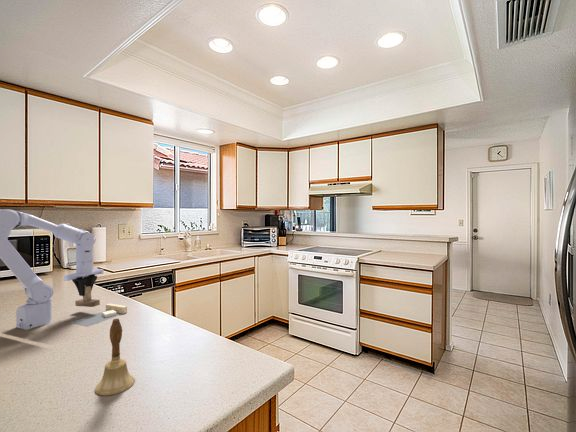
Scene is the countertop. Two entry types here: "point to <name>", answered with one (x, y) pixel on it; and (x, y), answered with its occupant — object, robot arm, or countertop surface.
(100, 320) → the board
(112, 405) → the countertop surface
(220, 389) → the countertop surface
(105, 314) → the tile
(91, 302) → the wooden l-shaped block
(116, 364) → the hand bell
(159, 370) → the countertop surface
